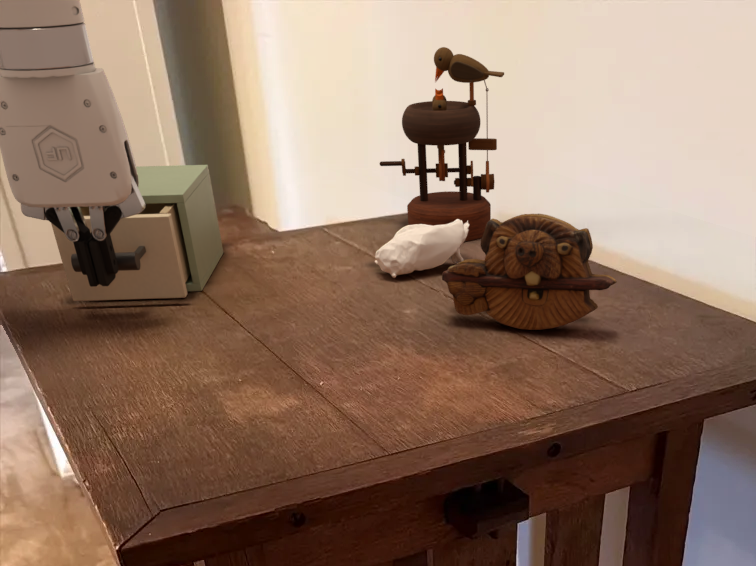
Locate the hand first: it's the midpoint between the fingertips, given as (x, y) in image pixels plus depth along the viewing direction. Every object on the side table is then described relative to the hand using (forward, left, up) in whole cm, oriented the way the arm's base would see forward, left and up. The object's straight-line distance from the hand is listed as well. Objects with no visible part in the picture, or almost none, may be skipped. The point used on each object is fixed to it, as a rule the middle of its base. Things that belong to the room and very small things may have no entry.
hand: (103, 281), depth 86 cm
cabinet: (0, +19, -5) cm, 19 cm away
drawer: (0, +11, -4) cm, 11 cm away
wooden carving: (+40, -3, -5) cm, 40 cm away
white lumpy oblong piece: (+30, +16, -5) cm, 34 cm away
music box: (+33, +33, -5) cm, 47 cm away
